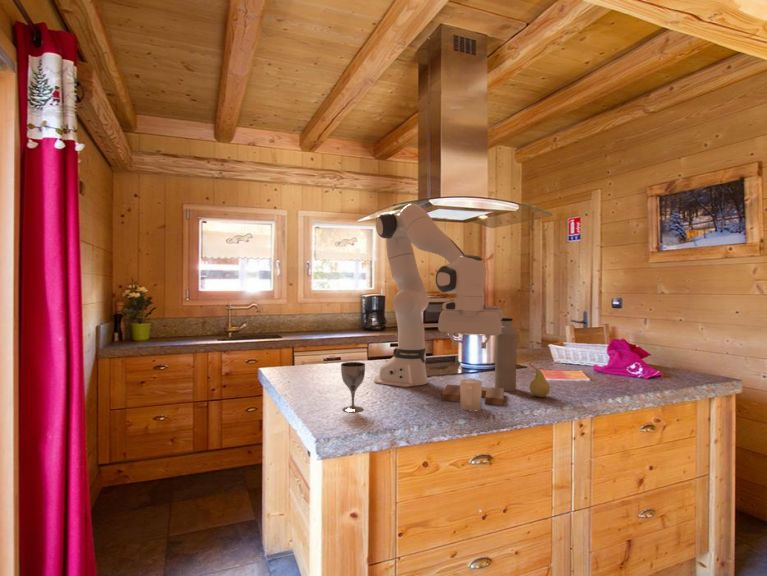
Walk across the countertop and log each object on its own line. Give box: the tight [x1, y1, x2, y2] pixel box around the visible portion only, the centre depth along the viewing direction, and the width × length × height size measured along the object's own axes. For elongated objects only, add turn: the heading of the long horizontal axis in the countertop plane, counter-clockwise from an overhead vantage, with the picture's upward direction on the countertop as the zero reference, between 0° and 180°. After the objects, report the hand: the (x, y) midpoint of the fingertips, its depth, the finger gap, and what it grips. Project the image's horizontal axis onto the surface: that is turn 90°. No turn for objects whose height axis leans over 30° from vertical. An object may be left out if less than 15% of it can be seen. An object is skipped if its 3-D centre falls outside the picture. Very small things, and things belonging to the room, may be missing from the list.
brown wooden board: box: [441, 384, 505, 406], centre depth 160 cm, size 21×14×2 cm, turn 74°
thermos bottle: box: [494, 317, 518, 393], centre depth 173 cm, size 8×8×28 cm
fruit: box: [529, 363, 551, 398], centre depth 162 cm, size 7×8×12 cm
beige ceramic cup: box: [459, 378, 483, 412], centre depth 146 cm, size 11×7×9 cm, turn 164°
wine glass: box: [340, 361, 366, 414], centre depth 145 cm, size 8×8×15 cm
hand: (468, 347), depth 143 cm, fingers open, 8 cm apart
